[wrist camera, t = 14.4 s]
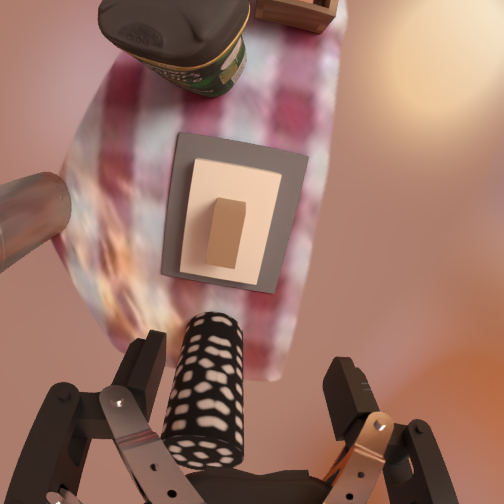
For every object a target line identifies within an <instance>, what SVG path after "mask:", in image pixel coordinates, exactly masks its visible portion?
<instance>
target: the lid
mask: <svg viewBox="0 0 504 504" xmlns="http://www.w3.org/2000/svg"><path fill="white" fill-rule="evenodd" d="M281 176H282V175H281V174H280V173H277V172H272V171H267V170H262V169H257V168H252V167H247V166H242V165H236V164H231V163H225V162H219V161H213V160H207V159H201V158H197V159H195V164H194V170H193V176H192V182H191V188H190V195H189V202H188V209H187V216H186V223H185V231H184V239H183V247H182V256H181V265H180V272H185V273H190V274H196V275H201V276H207V277H212V278H218V279H224V280H230V281H236V282H242V283H248V284H254V285H256V284H257V280H258V276H259V272H260V268H261V263H262V259H263V255H264V251H265V246H266V242H267V238H268V233H269V229H270V225H271V220H272V216H273V212H274V207H275V203H276V198H277V194H278V190H279V185H280V181H281Z"/></svg>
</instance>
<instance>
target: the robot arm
mask: <svg viewBox="0 0 504 504" xmlns="http://www.w3.org/2000/svg"><path fill="white" fill-rule="evenodd" d="M70 215H71V200H70V195H69V192H68V189H67V187H66V185H65V183H64V182H63V181H62V180H61V178H59V177H58V176H57V175H55V174H53V173H51V172H41V173H38V174H34V175H31V176H27V177H24V178H20V179H17V180H14V181H11V182H8V183H5V184H2V185H0V273H2V272H3V271H5V270H6V269H7V268H9V267H10V266H11V265H12V264H14V263H15V262H17V261H18V260H19V259H21V258H22V257H24V256H25V255H27V254H28V253H30V252H31V251H32V250H34V249H35V248H36V247H38V246H40V245H41V244H43V243H44V242H46V241H47V240H49V239H51V238H52V237H54V236H55V235H57V234H58V233H60V232H61V231H62V230H63V229H64V228H65V227H66V225H67V224H68V222H69V219H70ZM165 361H166V333H164V332H159V331H155V330H150V331H149V333H148V336H147V338H146V340H145V339H140V338H137V339H136V340H135V341H133V342H132V343H131V344H130V345H129V347H128V350H127V352H126V354H125V356H124V358H123V360H122V362H121V364H120V367H119V369H118V371H117V373H116V375H115V378H114V380H113V382H112V384H111V385H110V386H108V387H106V388H104V389H103V390H102V391H101V392H97V393H88V392H79V391H78V389H77V388H76V387H75V386H74V385H73V384H70V383H66V382H61V383H57V384H55V385H53V386H52V387H51V388H50V390H49V392H48V394H47V396H46V398H45V400H44V402H43V404H42V406H41V408H40V410H39V412H38V414H37V417H36V419H35V421H34V423H33V426H32V428H31V430H30V432H29V435H28V437H27V440H26V442H25V445H24V447H23V449H22V452H21V455H20V457H19V460H18V462H17V465H16V468H15V470H14V473H13V476H12V479H11V482H10V485H9V488H8V492H7V495H6V498H5V501H4V504H83V503H82V502H81V501H80V500H78V499H77V497H76V496H77V492H78V488H79V483H80V479H81V475H82V472H83V468H84V464H85V460H86V457H87V453H88V450H89V446H90V443H91V440H92V438H93V439H112V440H113V442H114V444H115V446H116V448H117V450H118V452H119V454H120V456H121V458H122V460H123V462H124V464H125V466H126V468H127V470H128V472H129V474H130V476H131V478H132V480H133V482H134V484H135V485H136V487H137V489H138V491H139V492H140V494H141V496H142V497H143V499H144V500H145V503H144V504H367V501H368V499H369V498H370V495H371V493H372V491H373V489H374V487H375V485H376V483H377V480H378V478H379V476H380V474H381V471H382V470H383V474H384V479H385V483H386V487H387V491H388V495H389V500H390V504H459V503H458V500H457V496H456V493H455V491H454V487H453V485H452V482H451V479H450V476H449V473H448V471H447V468H446V465H445V463H444V460H443V457H442V455H441V452H440V450H439V447H438V445H437V442H436V440H435V437H434V435H433V433H432V430H431V428H430V426H429V425H428V424H427V423H426V422H425V421H423V420H420V419H415V420H412V421H411V422H410V423H409V424H408V425H401V424H396V423H393V420H392V419H391V418H390V417H389V416H388V415H387V414H385V413H382V412H380V410H379V408H378V405H377V403H376V400H375V398H374V396H373V393H372V391H371V388H370V386H369V384H368V381H367V379H366V376H365V374H364V373H363V372H362V371H361V370H360V369H359V368H355V366H354V363H353V361H352V359H351V358H350V357H335V358H334V359H333V361H332V363H331V365H330V367H329V369H328V371H327V373H326V375H325V377H324V380H323V391H324V395H325V399H326V403H327V407H328V411H329V414H330V418H331V422H332V426H333V430H334V434H335V438H336V441H343V440H345V443H346V444H345V446H344V447H343V448H342V450H341V452H340V453H339V455H338V457H337V459H336V460H335V462H334V463H333V465H332V467H331V468H330V470H329V471H328V473H327V474H326V476H325V477H324V478H323V479H322V480H320V479H318V478H315V477H312V476H309V473H308V470H284V471H279V472H275V473H270V474H265V475H255V474H251V473H248V472H244V471H241V470H237V469H234V468H226V467H217V466H209V465H206V469H205V471H199V472H193V473H190V474H187V475H184V473H183V472H182V471H181V469H180V468H179V466H178V465H177V463H176V462H175V460H174V459H173V457H172V456H171V454H170V453H169V451H168V450H167V448H166V447H165V445H164V443H163V442H162V440H161V439H160V437H159V436H158V434H157V433H155V432H153V431H152V430H151V428H150V426H149V425H148V423H149V419H150V415H151V412H152V408H153V405H154V401H155V397H156V394H157V391H158V387H159V384H160V380H161V377H162V374H163V370H164V367H165ZM408 458H410V459H411V462H412V465H413V468H414V474H413V473H412V469H411V466H410V463H409V460H408Z"/></svg>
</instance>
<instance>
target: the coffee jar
mask: <svg viewBox="0 0 504 504" xmlns="http://www.w3.org/2000/svg"><path fill="white" fill-rule="evenodd" d="M249 14H250V5H249V0H103V1H102V2H101V4H100V6H99V8H98V25H99V28H100V30H101V32H102V34H103V35H104V36H105V37H106V38H107V39H108V40H109V41H110V42H112V43H113V44H114V45H115V46H117V47H118V48H120V49H121V50H123V51H125V52H126V53H128V54H130V55H131V56H133V57H134V58H136V59H137V60H139V61H141V62H142V63H143V64H145V65H146V66H148V67H149V68H151V69H152V70H154V71H155V72H157V73H158V74H159V75H161V76H162V77H163V78H165V79H166V80H168V81H170V82H171V83H173V84H175V85H177V86H179V87H181V88H183V89H186V90H188V91H191V92H193V93H196V94H200V95H203V96H207V97H217V96H220V95H223V94H225V93H226V92H228V91H229V90H230V89H231V88H232V87H233V85H234V84H235V83H236V82H237V80H238V79H239V77H240V75H241V74H242V72H243V70H244V67H245V65H246V49H245V45H244V42H243V38H242V32H243V30H244V28H245V26H246V24H247V21H248V18H249Z"/></svg>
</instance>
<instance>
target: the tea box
mask: <svg viewBox="0 0 504 504" xmlns="http://www.w3.org/2000/svg"><path fill="white" fill-rule="evenodd" d="M337 5H338V0H257V3H256V12H255V19H259V20H265V21H270V22H275V23H280V24H284V25H288V26H293V27H297V28H301V29H304V30H308V31H312V32H315V33H319V34H322V33H323V31H324V30H325V29H326V28H327V26H328V25H329V24H330V23H331V21H332V20H333V19H334V18H335V17H336V11H337Z"/></svg>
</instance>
